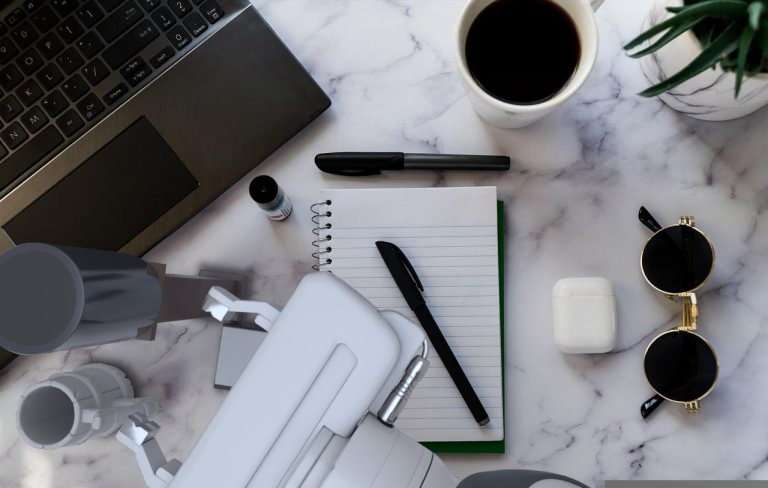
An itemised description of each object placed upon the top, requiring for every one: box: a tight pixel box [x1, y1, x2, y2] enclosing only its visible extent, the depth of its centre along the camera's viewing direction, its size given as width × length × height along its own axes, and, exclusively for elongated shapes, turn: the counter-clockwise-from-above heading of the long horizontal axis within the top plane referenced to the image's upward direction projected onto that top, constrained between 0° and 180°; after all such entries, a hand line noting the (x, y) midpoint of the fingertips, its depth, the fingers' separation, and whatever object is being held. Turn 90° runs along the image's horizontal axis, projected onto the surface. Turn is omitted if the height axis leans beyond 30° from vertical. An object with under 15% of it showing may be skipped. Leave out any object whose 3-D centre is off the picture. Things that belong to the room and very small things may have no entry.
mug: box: [14, 362, 161, 451], centre depth 62 cm, size 8×12×12 cm, turn 89°
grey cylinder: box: [0, 242, 162, 357], centre depth 41 cm, size 6×6×10 cm
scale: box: [212, 321, 268, 392], centre depth 66 cm, size 7×7×3 cm
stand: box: [133, 260, 249, 342], centre depth 57 cm, size 6×6×22 cm
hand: (167, 359), depth 40 cm, fingers open, 8 cm apart
